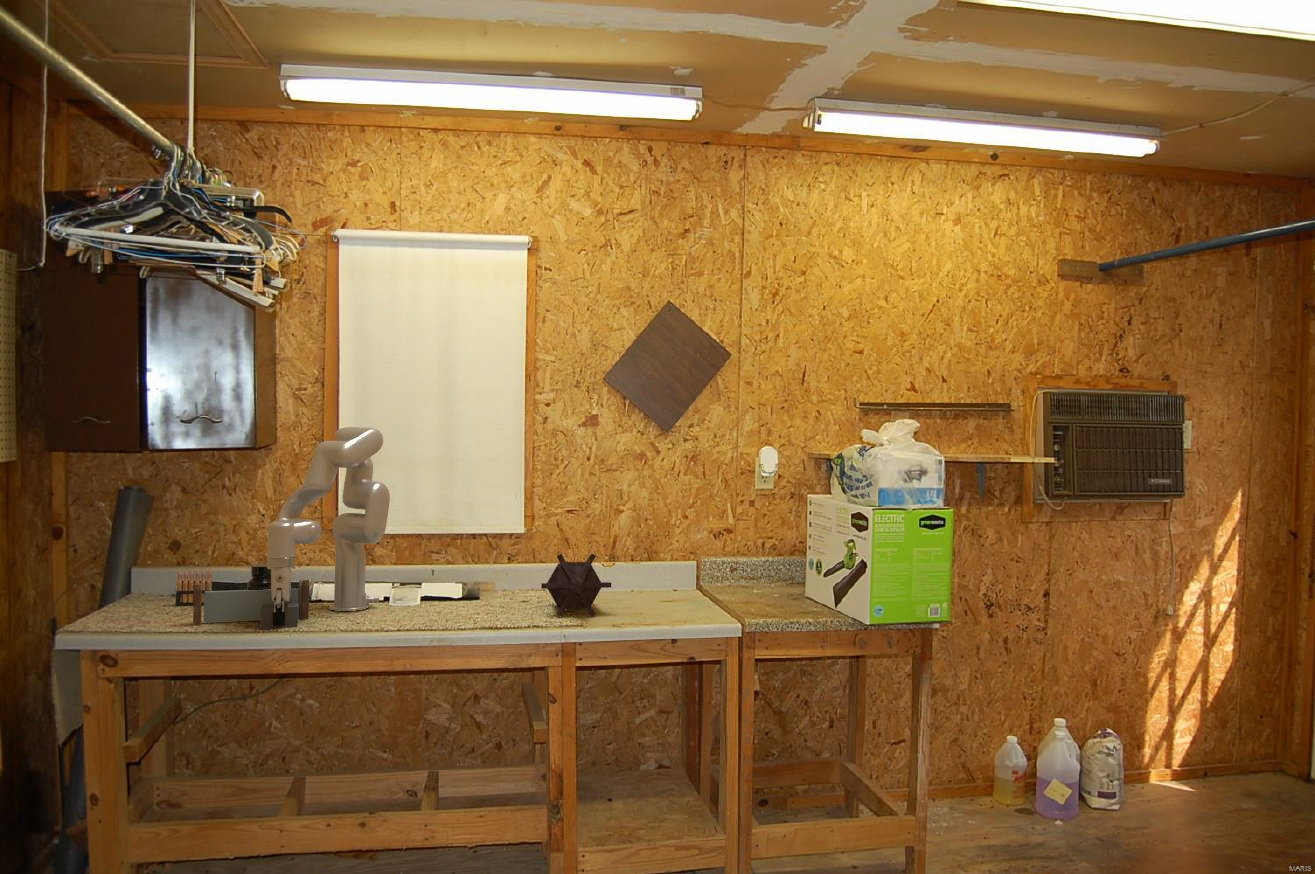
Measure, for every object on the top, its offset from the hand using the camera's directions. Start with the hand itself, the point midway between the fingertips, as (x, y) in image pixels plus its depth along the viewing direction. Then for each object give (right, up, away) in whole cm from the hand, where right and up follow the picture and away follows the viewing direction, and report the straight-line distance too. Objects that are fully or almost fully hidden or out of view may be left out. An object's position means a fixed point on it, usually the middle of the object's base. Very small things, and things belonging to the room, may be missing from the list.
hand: (279, 622), depth 251 cm
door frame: (-10, -1, +4) cm, 11 cm away
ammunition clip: (-40, 0, +26) cm, 48 cm away
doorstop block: (0, -1, 0) cm, 1 cm away
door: (-11, 0, +5) cm, 12 cm away
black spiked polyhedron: (+86, -3, +28) cm, 90 cm away
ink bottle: (-23, -1, +37) cm, 43 cm away
